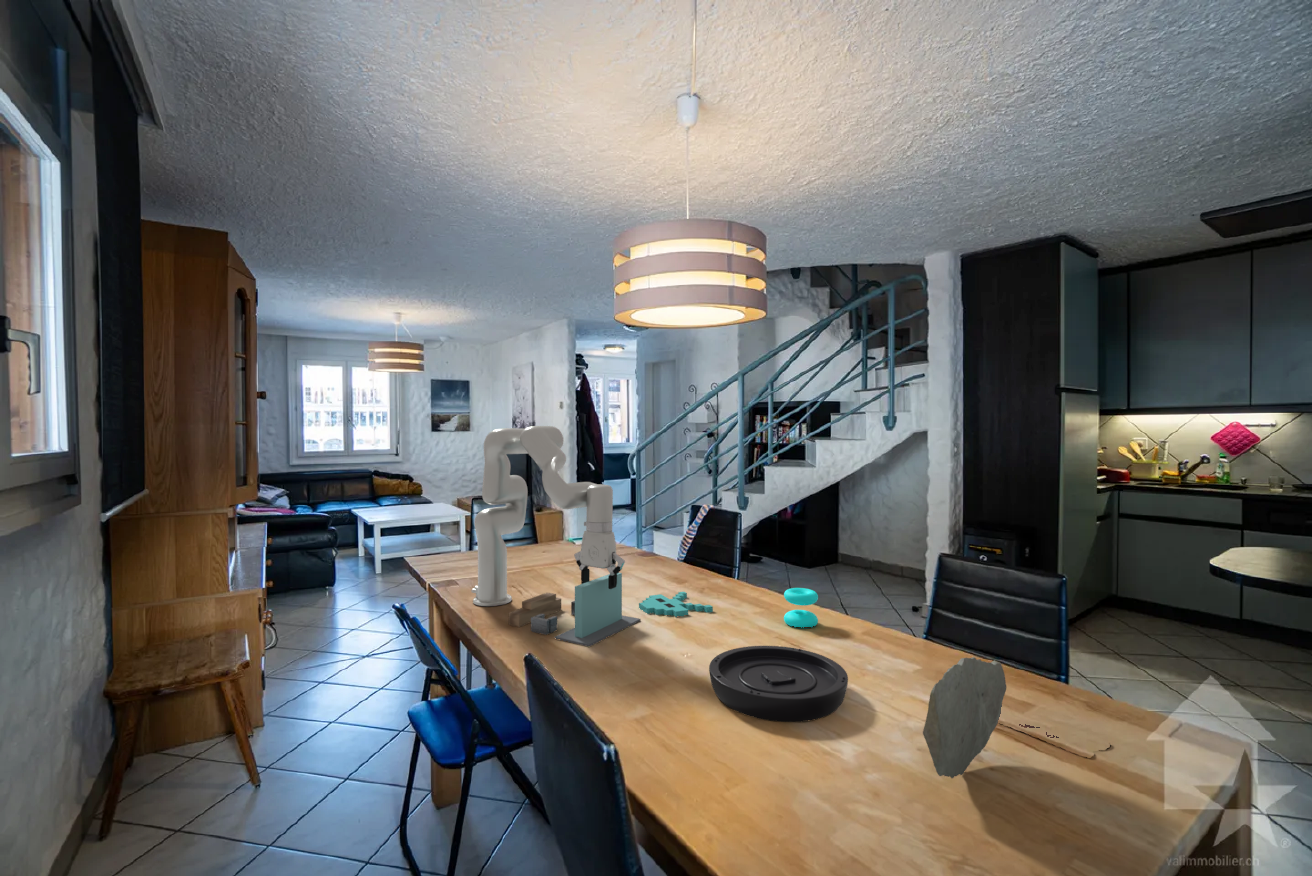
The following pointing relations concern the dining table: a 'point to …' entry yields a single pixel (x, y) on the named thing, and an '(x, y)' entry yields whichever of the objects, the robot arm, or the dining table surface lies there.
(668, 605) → the alien figure
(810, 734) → the dining table surface
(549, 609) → the offcut stack
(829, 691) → the round tray
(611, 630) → the rubber mat
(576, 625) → the teal sheet
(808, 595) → the donuts
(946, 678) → the rock
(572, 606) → the slab rack
